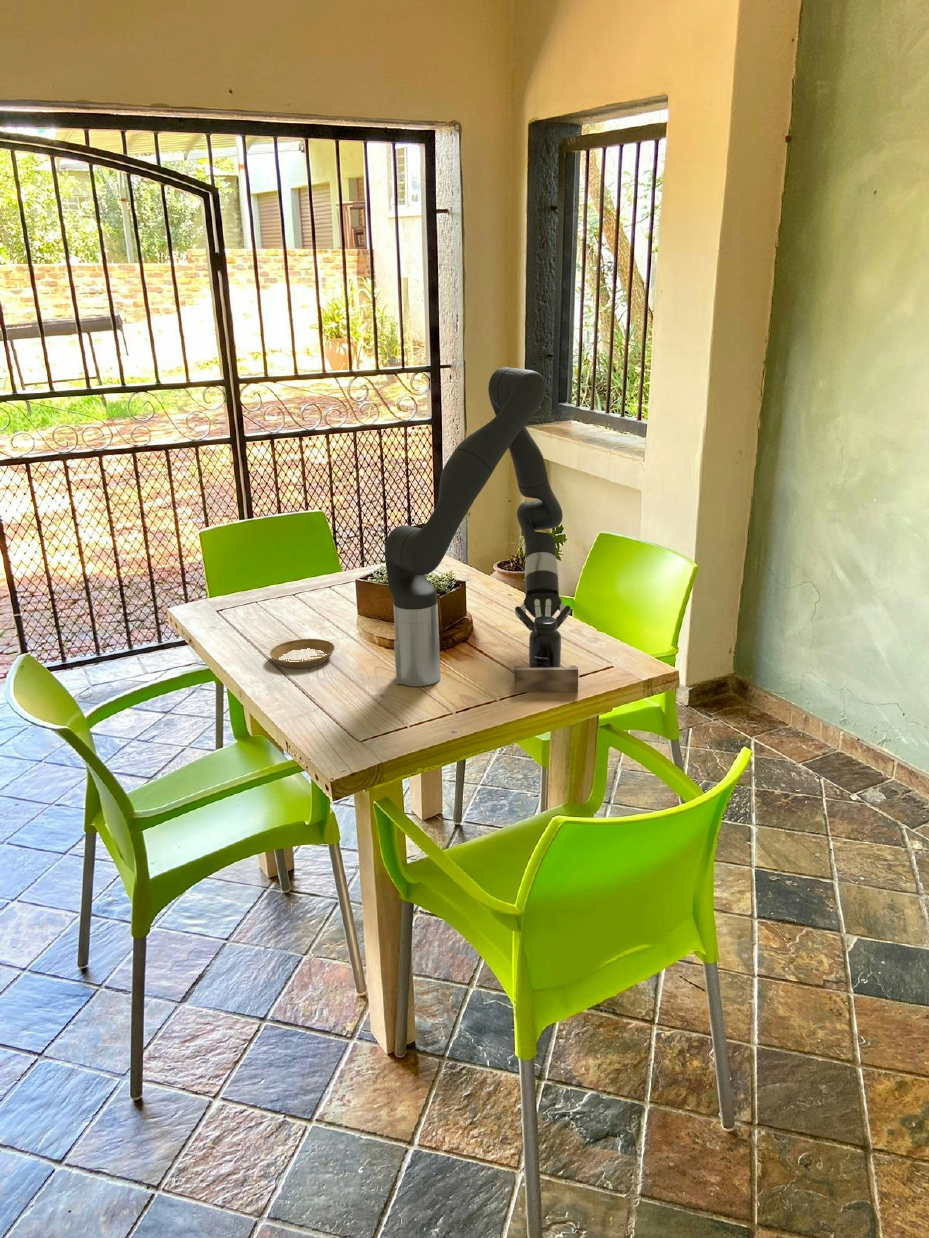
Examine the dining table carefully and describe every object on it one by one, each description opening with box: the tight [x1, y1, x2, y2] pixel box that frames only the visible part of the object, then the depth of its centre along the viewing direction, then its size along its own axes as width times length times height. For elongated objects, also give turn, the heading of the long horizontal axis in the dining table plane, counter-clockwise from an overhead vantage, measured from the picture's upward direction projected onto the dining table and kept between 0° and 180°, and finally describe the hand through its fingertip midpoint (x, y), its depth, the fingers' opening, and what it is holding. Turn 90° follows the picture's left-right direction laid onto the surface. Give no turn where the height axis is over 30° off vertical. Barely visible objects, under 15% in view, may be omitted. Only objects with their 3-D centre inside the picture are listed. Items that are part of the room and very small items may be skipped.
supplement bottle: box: [528, 616, 562, 668], centre depth 192 cm, size 7×7×12 cm
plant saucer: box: [269, 638, 336, 669], centre depth 205 cm, size 15×15×3 cm
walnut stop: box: [513, 665, 579, 693], centre depth 186 cm, size 13×6×5 cm, turn 87°
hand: (543, 646), depth 196 cm, fingers closed
